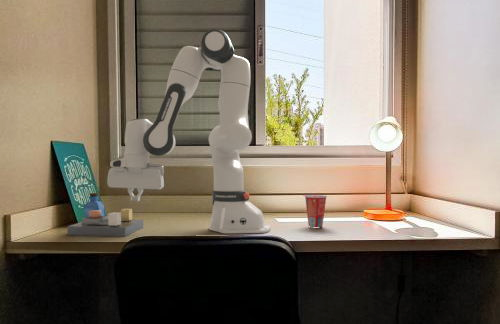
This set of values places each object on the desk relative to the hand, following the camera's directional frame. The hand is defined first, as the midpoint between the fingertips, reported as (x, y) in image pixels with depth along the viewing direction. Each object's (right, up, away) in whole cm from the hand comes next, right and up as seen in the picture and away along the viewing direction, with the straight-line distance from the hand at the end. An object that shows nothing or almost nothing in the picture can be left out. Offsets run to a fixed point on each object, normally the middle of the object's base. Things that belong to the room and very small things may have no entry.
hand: (135, 200), depth 134 cm
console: (-9, -10, -4) cm, 14 cm away
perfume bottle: (-20, -11, +12) cm, 26 cm away
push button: (-13, -6, -4) cm, 15 cm away
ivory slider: (-4, -7, -9) cm, 12 cm away
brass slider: (-3, -7, 0) cm, 8 cm away
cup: (+66, -11, +6) cm, 68 cm away
